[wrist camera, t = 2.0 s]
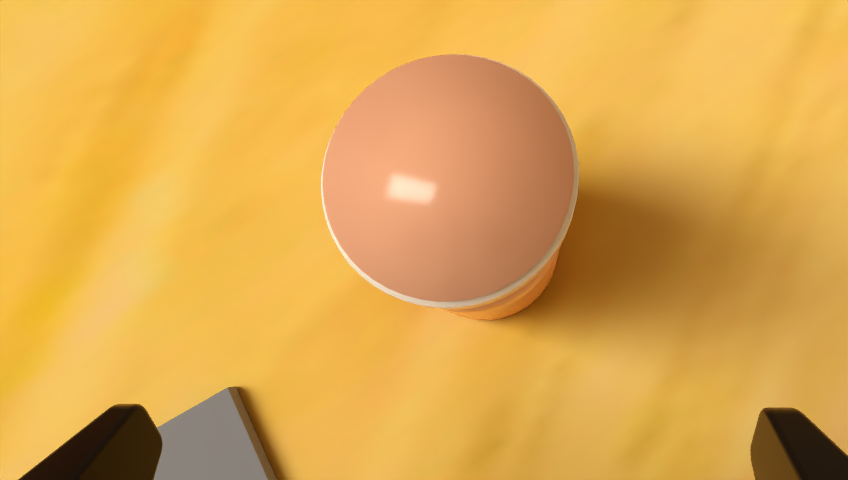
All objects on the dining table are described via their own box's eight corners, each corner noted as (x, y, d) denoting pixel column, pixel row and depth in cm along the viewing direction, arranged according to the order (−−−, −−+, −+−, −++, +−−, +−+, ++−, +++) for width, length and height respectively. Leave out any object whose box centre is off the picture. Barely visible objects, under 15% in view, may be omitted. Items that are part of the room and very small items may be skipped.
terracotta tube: (584, 293, 20) (622, 251, 11) (437, 344, 20) (360, 343, 11) (529, 151, 21) (523, 11, 12) (390, 204, 21) (288, 105, 13)
